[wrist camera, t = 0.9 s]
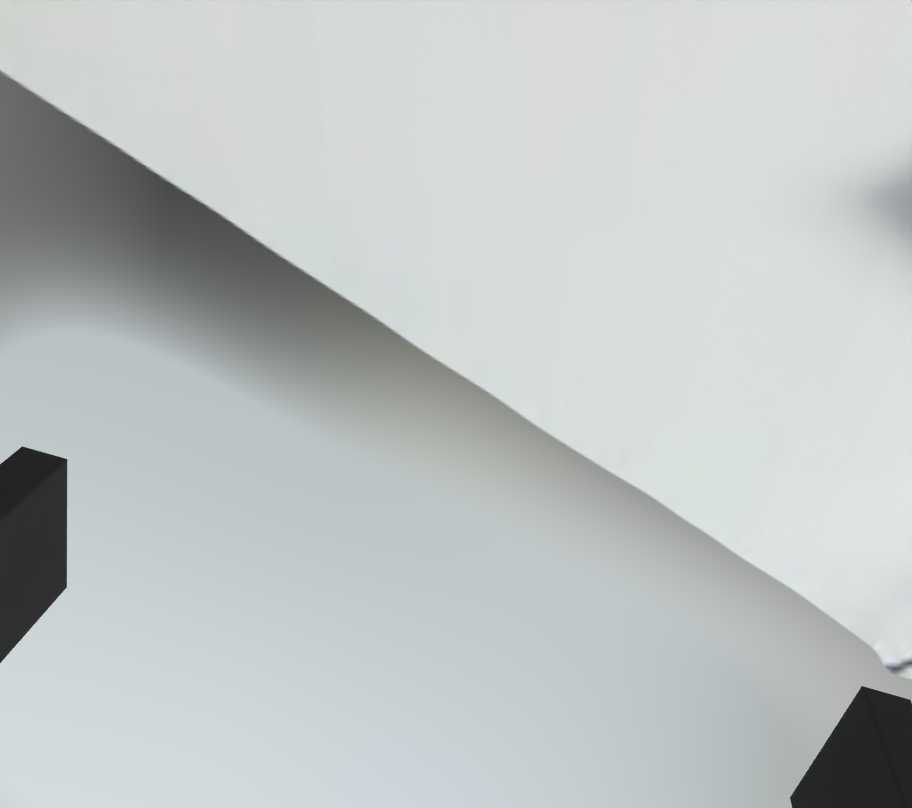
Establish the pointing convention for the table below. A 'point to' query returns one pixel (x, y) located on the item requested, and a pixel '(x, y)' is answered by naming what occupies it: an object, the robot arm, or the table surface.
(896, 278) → the table surface
